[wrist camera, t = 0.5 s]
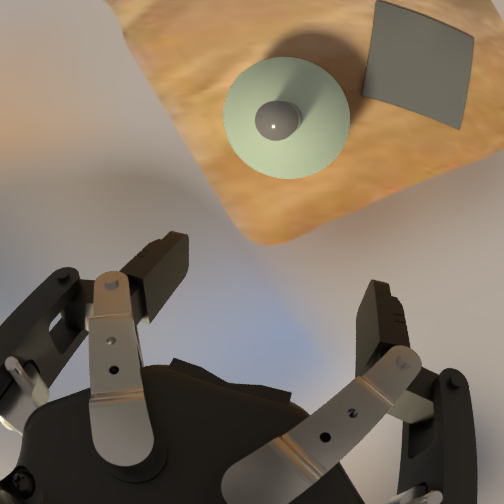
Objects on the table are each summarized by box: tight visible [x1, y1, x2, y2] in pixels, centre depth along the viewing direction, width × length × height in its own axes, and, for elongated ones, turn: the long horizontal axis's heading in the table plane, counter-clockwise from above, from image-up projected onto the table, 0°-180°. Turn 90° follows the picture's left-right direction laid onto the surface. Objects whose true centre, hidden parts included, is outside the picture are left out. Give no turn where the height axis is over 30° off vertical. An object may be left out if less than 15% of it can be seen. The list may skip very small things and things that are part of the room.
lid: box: [223, 57, 350, 179], centre depth 24 cm, size 12×12×6 cm
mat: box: [362, 1, 474, 130], centre depth 23 cm, size 12×12×1 cm
